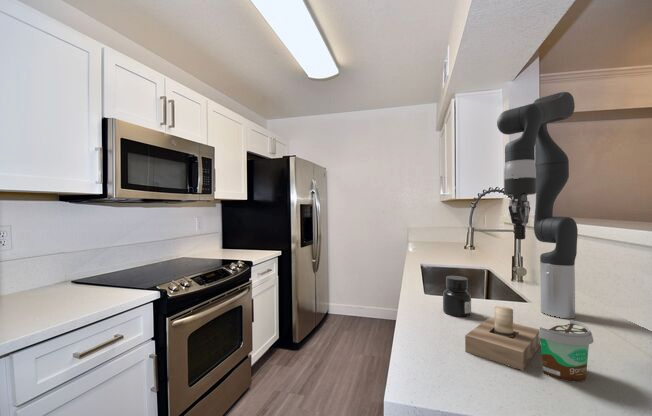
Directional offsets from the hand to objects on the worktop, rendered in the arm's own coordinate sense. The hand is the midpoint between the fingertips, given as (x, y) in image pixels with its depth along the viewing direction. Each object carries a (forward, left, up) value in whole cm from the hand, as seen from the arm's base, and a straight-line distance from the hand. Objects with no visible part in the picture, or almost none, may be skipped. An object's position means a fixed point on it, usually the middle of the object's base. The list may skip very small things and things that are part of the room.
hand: (520, 239), depth 81 cm
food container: (+16, +13, -27) cm, 34 cm away
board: (+12, -1, -27) cm, 30 cm away
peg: (+12, -1, -27) cm, 30 cm away
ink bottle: (-6, -20, -27) cm, 34 cm away
